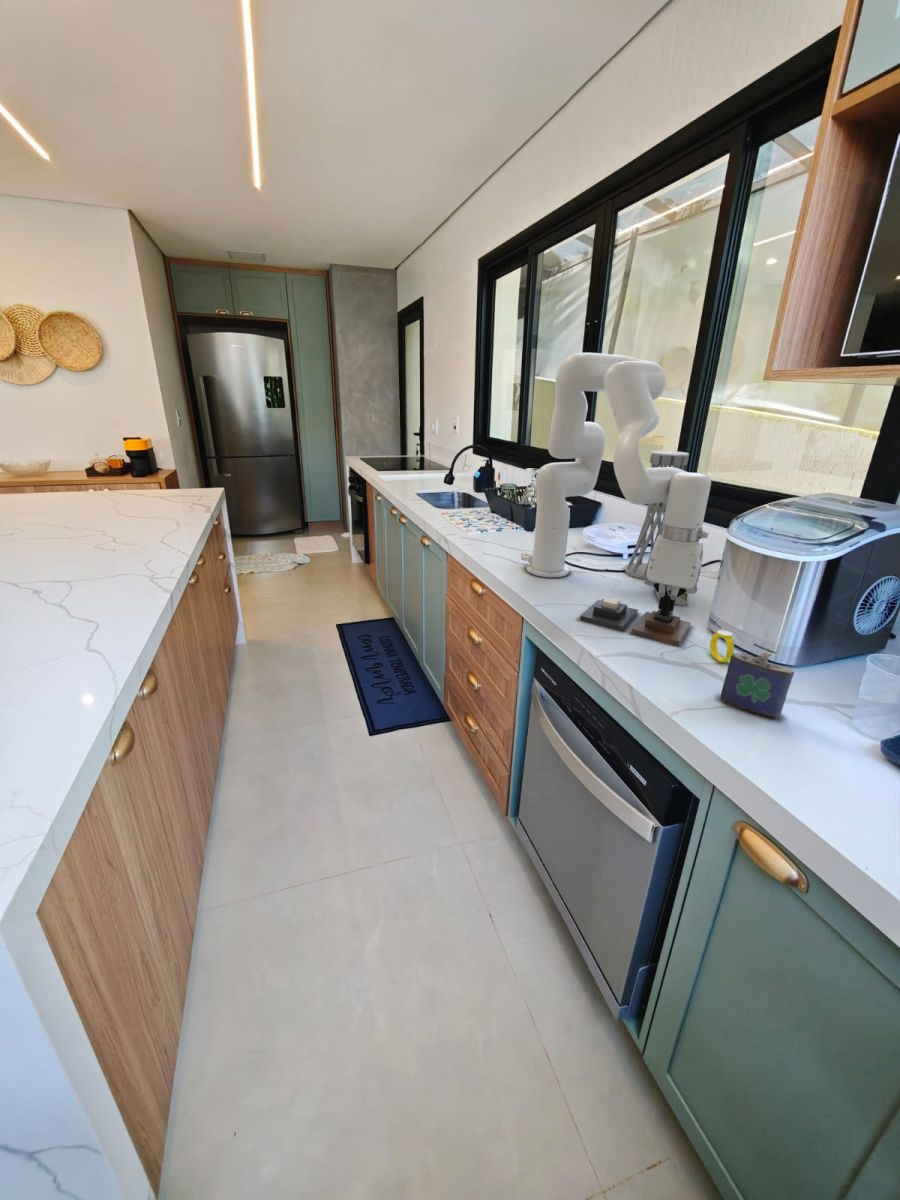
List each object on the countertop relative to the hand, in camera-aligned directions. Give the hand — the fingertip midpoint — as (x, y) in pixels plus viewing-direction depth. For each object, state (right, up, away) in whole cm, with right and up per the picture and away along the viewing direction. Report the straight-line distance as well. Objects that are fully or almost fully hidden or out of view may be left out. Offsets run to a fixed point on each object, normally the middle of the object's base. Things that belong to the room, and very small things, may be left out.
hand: (665, 612), depth 113 cm
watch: (+7, -9, -10) cm, 15 cm away
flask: (+3, -16, -26) cm, 31 cm away
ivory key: (-10, +1, +7) cm, 12 cm away
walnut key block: (0, -4, +2) cm, 4 cm away
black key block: (-10, -1, +8) cm, 13 cm away
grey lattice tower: (+11, +11, +38) cm, 42 cm away
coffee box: (+10, +3, +20) cm, 23 cm away
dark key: (0, -2, +1) cm, 2 cm away
